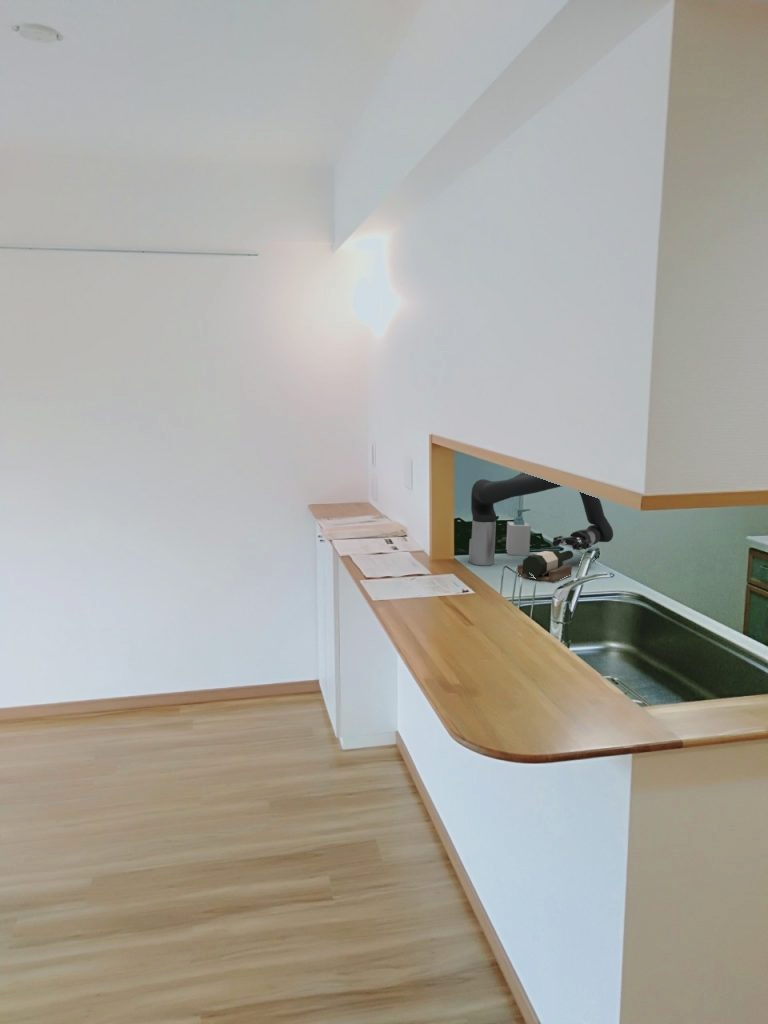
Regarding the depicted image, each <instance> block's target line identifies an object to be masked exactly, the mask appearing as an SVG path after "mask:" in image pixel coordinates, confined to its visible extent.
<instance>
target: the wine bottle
mask: <svg viewBox="0 0 768 1024" xmlns="http://www.w3.org/2000/svg"><path fill="white" fill-rule="evenodd" d="M573 557H574V552H573V551H572V550H565V551H561V552H560V551H559V550H557V549H552V548H550V549H548V550H544V551H541V552H538V553H535V554H531V555H530V554H529V556H526V558H524V559H523V560H522V564H523V571H524V572H525V574H526V575H527V576H528V577H533V576H531V575H530V574H529V572H530V573H532V574H533V575H534V577H535V578H537V577H539V576H546V575H549V574H548V573H549V571H551V570H554V569H557V568H559V567H562V566H564V562H565V561H568V560H571V559H572V558H573Z"/></svg>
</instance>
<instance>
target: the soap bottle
mask: <svg viewBox="0 0 768 1024" xmlns="http://www.w3.org/2000/svg"><path fill="white" fill-rule="evenodd" d="M514 510H515V511H517V512H516V513H517V516H515V519H513V521H511V520H509V521H507V522H506V543H505V545H506V546H505V551H506V550H507V551H506V553H507V555H508V556H521V555H529V556H530V546H531V544H530V543H531V532H532V531H531V529H532V527H531V524H530V523H529V521H525V520H524V517H523V516H522V513H524V512H528V511H531V509H530V508H514Z"/></svg>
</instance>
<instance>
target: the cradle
mask: <svg viewBox="0 0 768 1024" xmlns="http://www.w3.org/2000/svg"><path fill="white" fill-rule="evenodd" d="M572 567H573V566H572V565H571V564H565V565H563V566H562V567H559V568H557V569H554V570H551V571H549V574H548V576H546V575H542V576H539V577H537V578H536V579H535V580H538V581H543V582H548V583H552V584H555V583H556V581H557V582H559V581H558V580H560V579H562V578H564V577H566V576H569V575H571V576H572V571H573V570H572V569H573V568H572ZM517 573H519V575H521V576H520V577H522V578H527V577H528V576H527V575H526V574H525V572H524V571H523V563H521V564H520V563H519V564H518V565H517ZM562 580H563V579H562ZM560 581H561V580H560ZM554 582H555V583H554Z"/></svg>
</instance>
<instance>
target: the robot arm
mask: <svg viewBox="0 0 768 1024" xmlns="http://www.w3.org/2000/svg"><path fill="white" fill-rule="evenodd" d="M560 487H562V486H560V485H557V484H554V483H551V482H548V481H546V480H543V479H540V478H537V477H534V476H531V475H528V474H525V473H523V472H521V473H519V474H517V475H515V476H514V477H511V478H509V479H503V480H496V481H491V480H489V479H483V478H482V479H479V480H477V481H475V483H474V484H473V485H472V488H471V498H470V503H471V504H470V507H471V508H470V511H471V515H472V524H471V526H472V527H471V538H469V543H468V544H469V545H468V546H469V547H468V563H471V564H473V565H477V566H491V565H492V566H493V565H494V564H495V551H496V532H497V531H496V529H497V527H496V526H497V513H496V511H495V508H494V505H495V504H497V503H500V502H503V501H504V500H505V501H506V500H508V499H510V498H511V499H512V498H515V497H520V496H527V495H532V494H536V493H541V492H544V491H547V490H548V491H549V490H552V489H557V488H560ZM578 492H579V491H578ZM579 495H580V497H581V501H582V505H583V509H584V512H585V515H586V519H587V522H588V523H589V524H591V525H589V526H588V527H587V528H583V529H580V530H576V531H574V532H571V534H570V535H569V536H562V535H557V536H556V537H554V536H553V540H552V546H553V547H557V546H562V547H571V548H572V550H576V551H581V550H588V549H590V548H592V546H593V545H596V544H597V543H598V542H599V543H610V541H612V539H613V538H614V530H613V528H612V526H611V524H610V522H609V521H608V519H607V517H606V516H605V512H604V509H603V505H602V502H601V500H600V498H599V499H598V498H595V497H592V496H589V495H586V494H584V493H581V492H579Z"/></svg>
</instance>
